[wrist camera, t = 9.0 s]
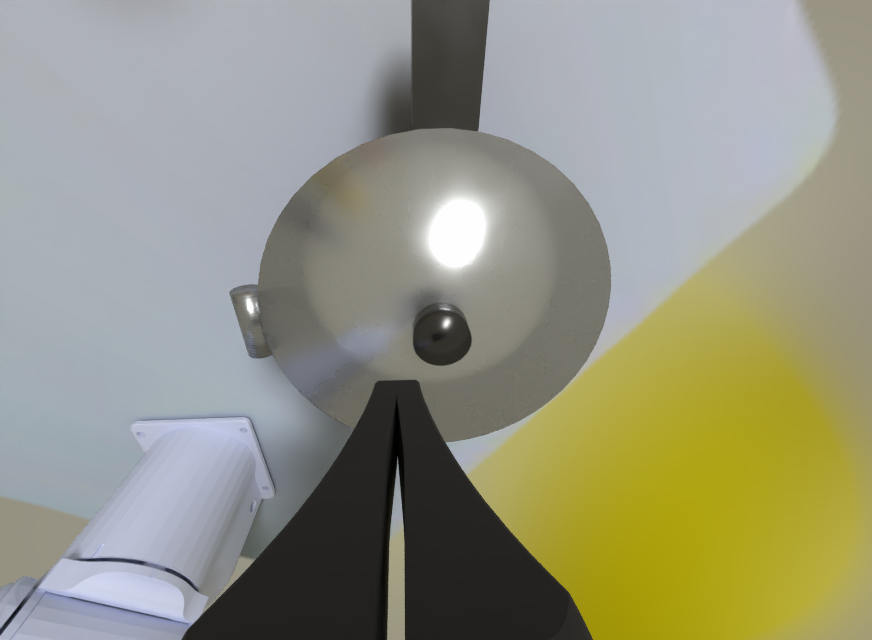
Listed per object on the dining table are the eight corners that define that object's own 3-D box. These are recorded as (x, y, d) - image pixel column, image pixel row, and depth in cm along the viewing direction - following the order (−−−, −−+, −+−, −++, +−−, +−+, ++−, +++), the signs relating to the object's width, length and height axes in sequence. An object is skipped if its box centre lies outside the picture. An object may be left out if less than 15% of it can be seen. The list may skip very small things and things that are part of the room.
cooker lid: (556, 423, 19) (573, 456, 17) (280, 431, 18) (264, 468, 16) (647, 137, 12) (694, 138, 10) (189, 117, 11) (138, 112, 9)
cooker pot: (522, 364, 23) (549, 415, 19) (327, 369, 22) (308, 425, 18) (600, -5, 14) (691, -71, 9) (259, -35, 12) (182, -128, 8)
